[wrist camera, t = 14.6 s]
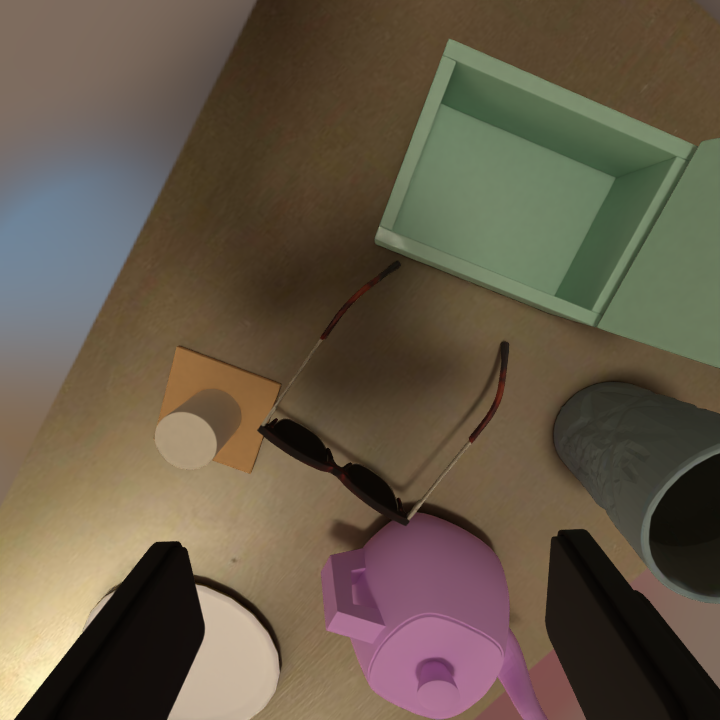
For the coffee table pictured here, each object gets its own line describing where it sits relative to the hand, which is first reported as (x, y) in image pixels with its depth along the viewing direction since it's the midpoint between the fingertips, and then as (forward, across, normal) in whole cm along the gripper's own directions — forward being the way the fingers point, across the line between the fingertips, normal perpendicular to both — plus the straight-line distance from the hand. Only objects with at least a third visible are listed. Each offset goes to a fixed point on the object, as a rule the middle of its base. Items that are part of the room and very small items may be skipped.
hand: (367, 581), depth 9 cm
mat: (+21, +14, +4) cm, 26 cm away
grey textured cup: (+22, -19, +7) cm, 29 cm away
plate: (+21, +22, +31) cm, 44 cm away
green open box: (+21, -10, -11) cm, 26 cm away
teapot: (+21, -4, +21) cm, 30 cm away
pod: (+21, +14, +4) cm, 25 cm away
